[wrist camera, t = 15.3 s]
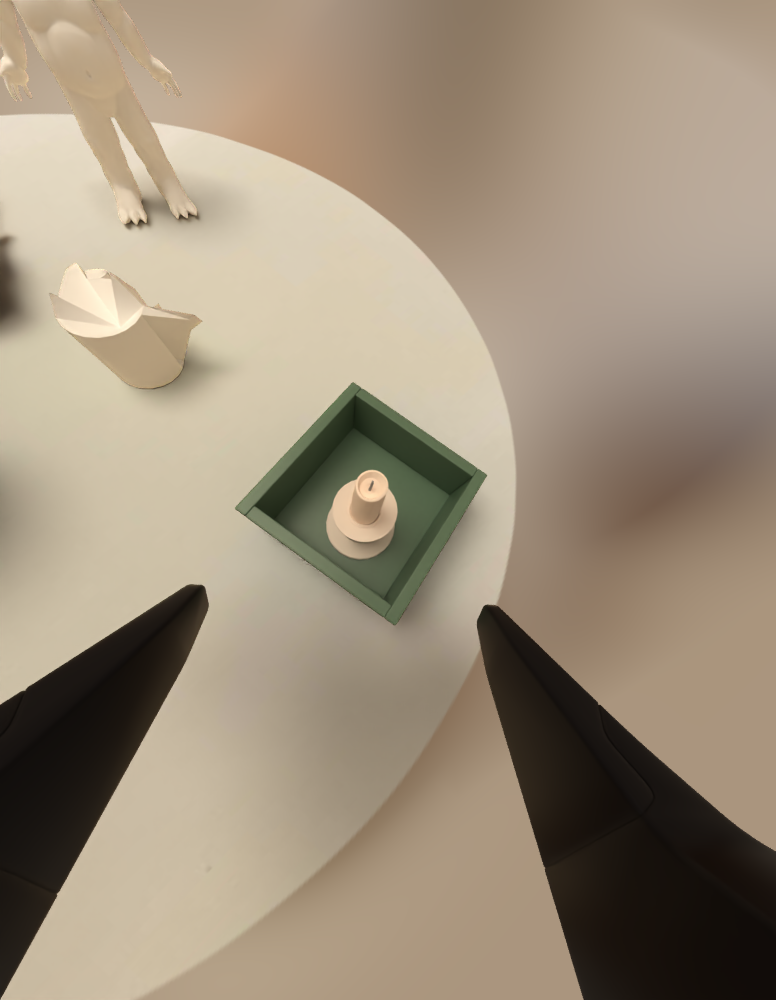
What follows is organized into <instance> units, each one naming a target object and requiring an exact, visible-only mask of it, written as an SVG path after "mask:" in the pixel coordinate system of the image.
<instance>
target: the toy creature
mask: <svg viewBox="0 0 776 1000" xmlns="http://www.w3.org/2000/svg"><path fill="white" fill-rule="evenodd" d="M93 1H94V3H95V4H96V6H97V7H98V9H99V10H100V12H101V13H102V15H103V16H104V17H105V19H106V20H107V21H108V22H109V24H110V25H111V26H112V28H113V29H114V30H115V32H116V34H117V36H118V37H119V39H120V40H121V42H122V43H123V45H124V46H125V47H126V48H127V50H128V51H129V52H130V53H131V55H132V56H133V57H134V58H135V59H136V60H137V61H138V63H139V64H140V65H141V66H143V67H144V68H146V69H147V70H148V71H149V72H150V74H151V76H152V77H153V78H154V79H155V80H157V81H158V82H161V84H162V86H163V87H164V89H165V91H166V93H167V95H169V96H170V93H169V90H168V87H167V86H166V83H167V84H168V85H170V87H171V88H172V90H173V92H174V94H175V95H176V97H179V96H180V97H182V94H181V92H180V89H179V87H178V85H177V83H176V82H175V80H174V79H173V78H172V73H171V72H170V71H169V70H168V69H166V68H165V66H164V65H163V64H162V63H161V62H160V61H159V60H158V59H156V58H154V57H153V56H152V55H151V54H150V52H149V50H148V48H147V46H146V44H145V42H144V40H143V39H142V37H141V35H140V33H139V31H138V30H137V28H136V26H135V25H134V23H133V21H132V20H131V18H130V17H129V16H128V14H127V13H126V11H125V10H124V9H123V7H122V5H121V4H120V2H119V0H93ZM13 4H14V6H15V8H16V10H17V11H18V13H19V15H20V16H21V18H22V20H23V22H24V24H25V26H26V28H27V30H28V32H29V35H30V37H31V39H32V41H33V43H34V44H35V46H36V48H37V50H38V52H39V53H40V55H41V57H42V58H43V59H44V61H45V63H46V64H47V66H48V67H49V69H50V70H51V71H52V73H53V74H54V76H55V78H56V80H57V82H58V84H59V86H60V88H61V89H62V91H63V93H64V95H65V97H66V99H67V101H68V103H69V105H70V107H71V108H72V111H73V113H74V115H75V117H76V119H77V121H78V124H79V126H80V129H81V131H82V133H83V136H84V138H85V140H86V141H87V143H88V145H89V146H90V148H91V149H92V151H93V153H94V154H95V156H96V158H97V159H98V161H99V163H100V165H101V167H102V169H103V172H104V174H105V176H106V178H107V180H108V182H109V183H110V185H111V187H112V189H113V191H114V194H115V198H116V202H117V206H118V216H119V219H120V220H121V221H122V223H124V224H126V223H129V222H130V221H131V220H132V221H133V222H134V224H136V225H137V224H138V222H139V220H140V219H141V220H143V221H144V222H145V223H147V221H146V220H147V215H146V213H145V211H144V209H143V205H142V203H141V201H142V195H141V192H140V189H139V187H138V185H137V183H136V181H135V179H134V177H133V174H132V172H131V170H130V168H129V166H128V164H127V160H126V157H125V155H124V152H123V150H122V148H121V145H120V141H119V138H118V135H117V132H116V130H115V128H114V125H113V123H112V121H111V119H110V117H114V118H115V119H116V121H117V123H118V125H119V126H120V128H121V130H122V131H123V133H124V135H125V136H126V138H127V139H128V141H129V142H130V143H131V145H132V146H133V148H134V149H135V151H136V153H137V155H138V156H139V158H140V159H141V160H142V162H143V163H144V165H145V166H146V169H147V171H148V173H149V174H150V176H151V177H152V179H153V181H154V183H155V185H156V186H157V188H158V190H159V191H160V193H161V194H162V195H163V196H164V197H165V199H166V201H167V203H168V205H169V206H170V210H171V212H172V214H173V215H175V217H176V218H177V219H179V215H180V214H181V215H182V216H184V217H185V218H187V219H188V213H190V214H191V215H197V209H196V207H195V206H194V205H193V203H192V202H191V201H190V199H189V198H188V197H187V195H186V193H185V192H184V190H183V189H182V186H181V184H180V182H179V180H178V178H177V176H176V174H175V172H174V170H173V168H172V166H171V164H170V163H169V161H168V160H167V158H166V155H165V153H164V151H163V148H162V146H161V144H160V142H159V139H158V137H157V134H156V132H155V130H154V129H153V127H152V125H151V123H150V122H149V120H148V119H147V117H146V115H145V113H144V111H143V109H142V107H141V105H140V103H139V101H138V99H137V97H136V95H135V93H134V91H133V89H132V87H131V84H130V83H129V81H128V78H127V76H126V74H125V72H124V69H123V66H122V63H121V60H120V58H119V55H118V53H117V50H116V48H115V46H114V44H113V43H112V41H111V39H110V37H109V35H108V33H107V32H106V30H105V28H104V26H103V24H102V22H101V20H100V18H99V16H98V14H97V12H96V9H95V7H94V5H93V2H92V0H0V46H1V48H2V50H3V53H4V56H3V57H2V59H1V61H0V66H1V67H0V76H1V77H3V78H4V81H5V85H6V87H7V89H8V91H9V93H10V95H11V97H12V98H13V100H14V101H16V102H17V98H16V96H17V97H18V99H19V100H20V101H21V102H22V101H23V99H22V97H21V94H20V92H19V89H18V86H19V85H21V86H22V88H23V89H24V91H25V93H26V94H27V96H28V97H29V98H30V99H32V95H31V93H30V91H29V89H28V87H27V84H26V83H27V82H28V81H29V77H28V75H27V73H26V71H25V69H26V68H27V56H26V48H25V43H24V39H23V37H22V34H21V31H20V29H19V27H18V23H17V17H16V13H15V10H14V6H13ZM12 86H13V89H14V92H15V94H16V96H15V95H14V93H13V90H12ZM174 86H175V87H174ZM175 88H176V89H175ZM176 90H177V91H176ZM177 92H178V93H177ZM178 94H179V95H178Z"/></svg>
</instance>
